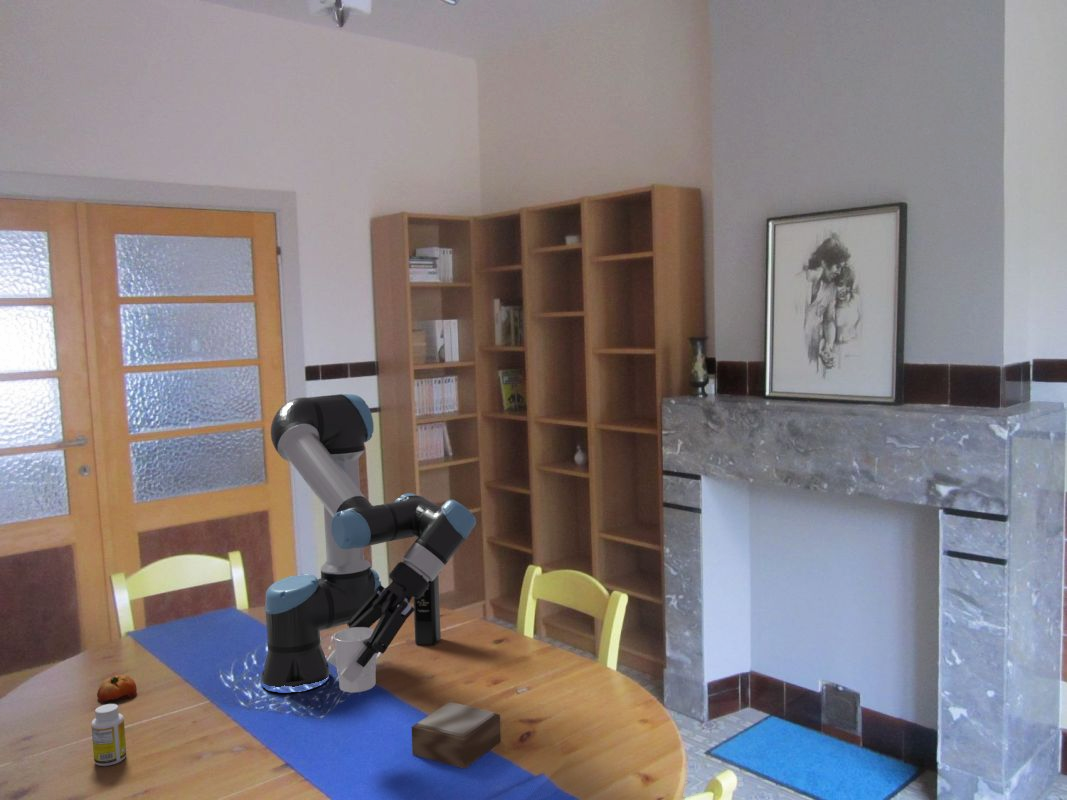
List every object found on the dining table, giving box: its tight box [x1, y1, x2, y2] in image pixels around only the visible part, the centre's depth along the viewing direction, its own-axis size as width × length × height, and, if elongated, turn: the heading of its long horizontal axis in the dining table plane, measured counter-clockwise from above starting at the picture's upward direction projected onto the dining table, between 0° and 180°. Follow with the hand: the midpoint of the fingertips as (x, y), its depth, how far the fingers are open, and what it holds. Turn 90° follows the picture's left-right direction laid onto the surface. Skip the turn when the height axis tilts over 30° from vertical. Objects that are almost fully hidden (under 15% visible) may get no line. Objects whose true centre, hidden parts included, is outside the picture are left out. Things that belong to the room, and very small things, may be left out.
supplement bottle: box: [90, 703, 127, 767], centre depth 168 cm, size 6×6×10 cm
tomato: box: [96, 674, 138, 703], centre depth 199 cm, size 8×7×7 cm
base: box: [411, 701, 502, 770], centre depth 170 cm, size 12×12×6 cm
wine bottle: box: [412, 574, 442, 646], centre depth 227 cm, size 6×6×30 cm
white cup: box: [333, 627, 377, 694], centre depth 168 cm, size 8×8×10 cm
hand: (339, 671), depth 166 cm, fingers closed on white cup, 8 cm apart
